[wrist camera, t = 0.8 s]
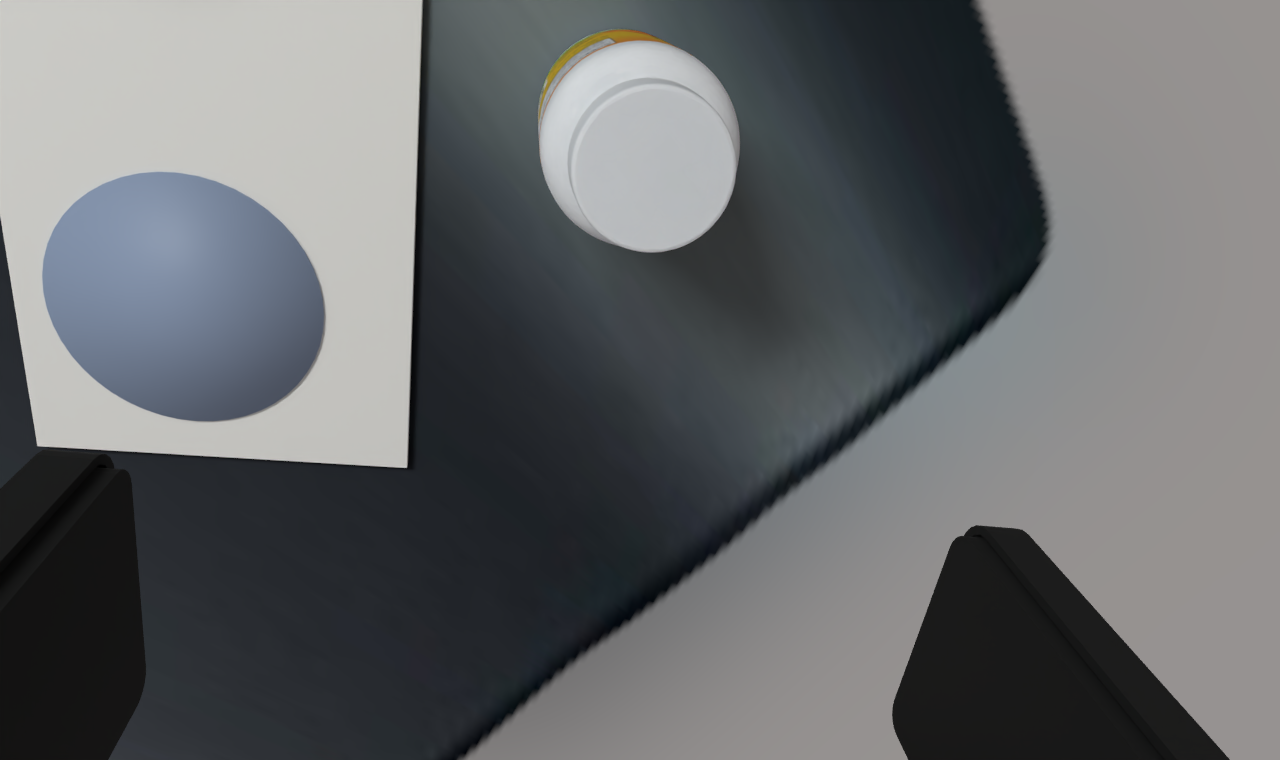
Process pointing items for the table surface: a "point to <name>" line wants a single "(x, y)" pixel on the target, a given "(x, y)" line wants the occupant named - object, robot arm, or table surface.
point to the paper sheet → (214, 223)
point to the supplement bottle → (637, 141)
